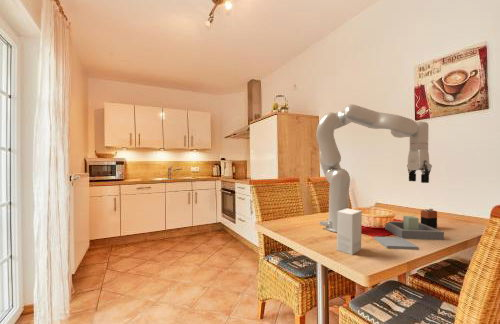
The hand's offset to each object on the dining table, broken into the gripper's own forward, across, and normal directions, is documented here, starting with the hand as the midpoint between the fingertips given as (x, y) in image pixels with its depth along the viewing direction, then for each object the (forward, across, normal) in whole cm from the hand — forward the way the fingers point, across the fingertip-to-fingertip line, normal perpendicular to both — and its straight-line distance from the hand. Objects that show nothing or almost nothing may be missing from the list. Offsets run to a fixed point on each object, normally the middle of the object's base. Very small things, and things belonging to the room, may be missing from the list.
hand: (418, 181), depth 116 cm
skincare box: (+26, +27, -42) cm, 56 cm away
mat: (+25, +18, -20) cm, 37 cm away
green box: (+25, +1, -4) cm, 26 cm away
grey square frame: (+25, +1, -4) cm, 26 cm away
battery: (+26, -11, +12) cm, 30 cm away
